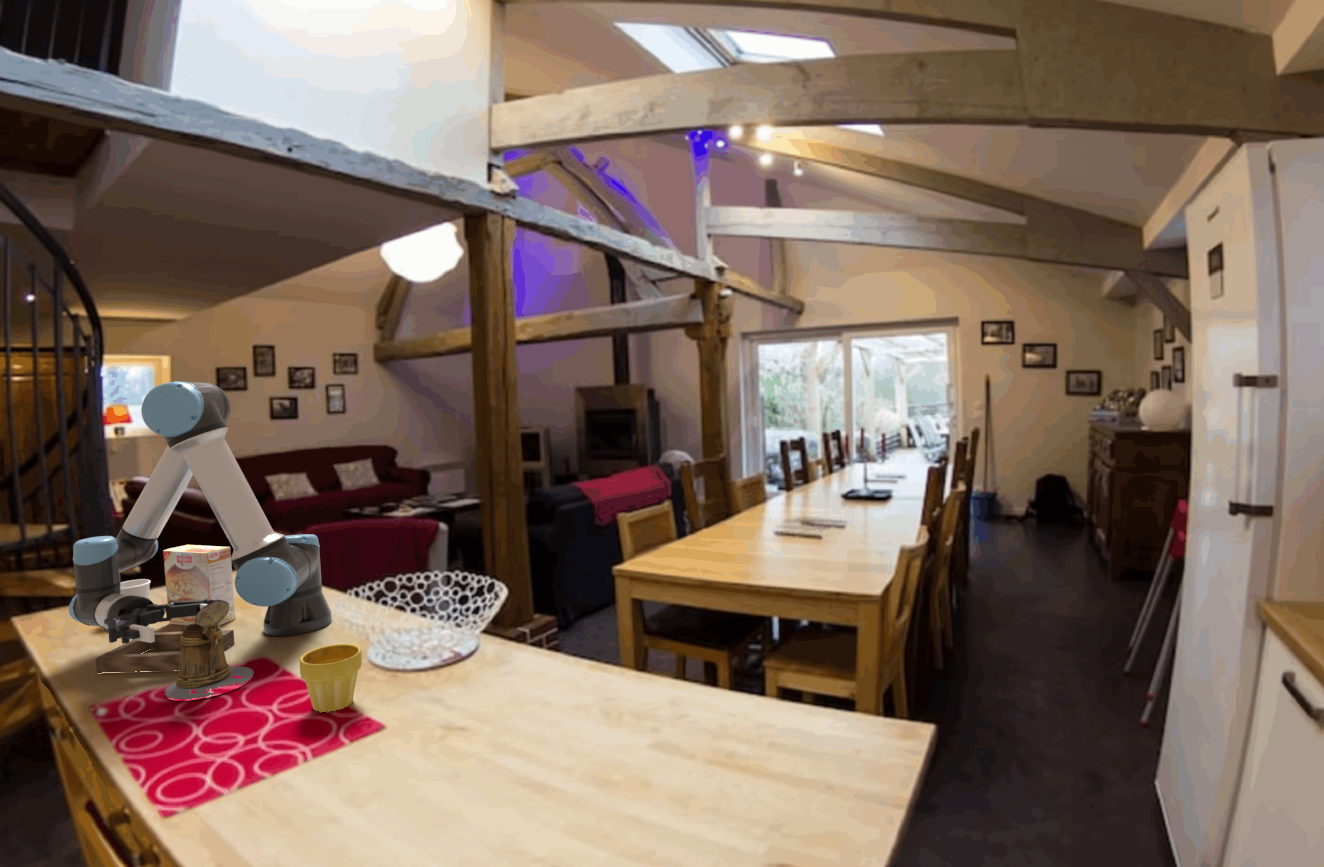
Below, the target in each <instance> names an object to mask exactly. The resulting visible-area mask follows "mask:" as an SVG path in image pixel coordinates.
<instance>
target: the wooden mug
mask: <svg viewBox="0 0 1324 867" xmlns="http://www.w3.org/2000/svg"><path fill="white" fill-rule="evenodd" d="M228 611H229V603H228V602H226V601H223V600H214V601H212V602H211V603H209V604H207V605H206V606H204V607H203V608H202V609H201V610H199V612H198V613H197V614H196V617H195V623H194V624H190V625H184V627H182V631H181V632H182V635H181V638H180V643H181V649H180V653H181V655H180V665H179V671H178V675H177V677H176V681H177V683H176V685H177V687H179V688H186V689H191V688H199V687H204V686H208V685H211V684H214V683H217V682H219V681H222V680H223V679H225V678H227V677H228V676H229V675H230V668H229V667H230V664H229V663H227V659H226V654H225V650H224V649H223V645H222V640H221V638H222V637H223V634H222V632H221V630H222V629H221V628H220V625H219V626H218V624H219V623H220V622H221V621H222V620H223V619H224V618H225V617H226V615H227V613H228Z"/></svg>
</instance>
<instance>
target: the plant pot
mask: <svg viewBox="0 0 1324 867" xmlns="http://www.w3.org/2000/svg"><path fill="white" fill-rule="evenodd" d="M362 658H363V657H362V648H361V647H360V646H359V645H356V644H352V643H338V644H337V643H336V644H329V645H324V646H320V647H317V648H315V649H314V648H313V649H311V650H309V651H307V652H305V653H304V654H303V655H301V656H300V658H299V673H300V678H301V679H302V680H303V681H304V682H305V685H306V687H307V691H308V694H309V698H310V701H311V706H312V708H313V710H314V711H315V710H316V711H315V712H317V711H319V712H318V713H322V712H326V713H331V712H330V711H334V712H337V711H336V710H338V711H341V710H343V709H345V708H347V707H348V706H350V705H351V704H352V703H353V702H354V695H355V690H356V684H357V677H358V672H359V670H361V667H362ZM344 707H345V708H344ZM340 709H341V710H340ZM327 711H328V712H327Z"/></svg>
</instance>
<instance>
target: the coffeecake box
mask: <svg viewBox="0 0 1324 867" xmlns="http://www.w3.org/2000/svg"><path fill="white" fill-rule="evenodd" d="M162 551H163V552H162V553H163V563H164V564H163V566H164V575H165V586H166V600H167V604H169V601H172V600H173V601H193V600H204V599H207V600H211V599H212V600H223V601H226V602H228V603H229V611H228V613H227V615H226V617H225V618H224V619H223V620H222V621H221V622H220V623H219V624H218V626H219V627H220V626H221V625H224V624H226V623H230V622H231V621H234V620H236V619H237V618H236V610H235V595H234V583H233V582H234V581H233V580H234V579H233V568H232V567H233V566H232V562H231V557H232V554H231V546H219V545H218V546H216V545H201V544H199V545H198V544H197V545H196V544H185V545H180V546H175V547H170V548H167V549H164V550H162ZM195 617H196V616H188V617H179V618H172V619H171V620H170V621H168V624H169V625H176V626H177V625H179V626H187V625H190V624H194V623H195Z"/></svg>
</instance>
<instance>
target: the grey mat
mask: <svg viewBox="0 0 1324 867" xmlns="http://www.w3.org/2000/svg"><path fill="white" fill-rule="evenodd" d="M229 668H230V675H229V676H228V677H227V678H225V679H223V680H222V681H219V682H217V683H214V684H211V685H208V686H204V687H199V688H191V689H186V688H179V687H177V685H176V683H177V680H176V681H175V682H173V683H171V684H169V686H167V687H166V688H165V689H164V696H165V695H166V696H167V697H169V698H173V699H192V698H200V697H206V696H209V695H213V694H217V693H210V692H209V693H207V691H210V690H209V689H210V688H211V689H212V690H211V691H213V689H214V688H218V687H219V686H220V687H223V686H225V685H226V687H227V686H228V685H230V684H232V685H231V686H233V685H234V684H235V683H238V684H237V685H241V684H243V683H245V682H247V681H248V680H250V679H251V678H250V677H252V676H253V674H254V675H255V672H254V670H253V669H252V668H250V667H246V666H236V665H235V666H229ZM234 675H235V676H240V677H242V678H233V677H235V676H234ZM243 676H245V677H243ZM239 682H240V683H239ZM194 689H196V690H194ZM206 689H208V690H207V691H206ZM190 690H191V691H190ZM193 690H194V691H196V693H189V692H193ZM216 690H217V689H216ZM165 692H167V693H165ZM201 692H205V693H201Z"/></svg>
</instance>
